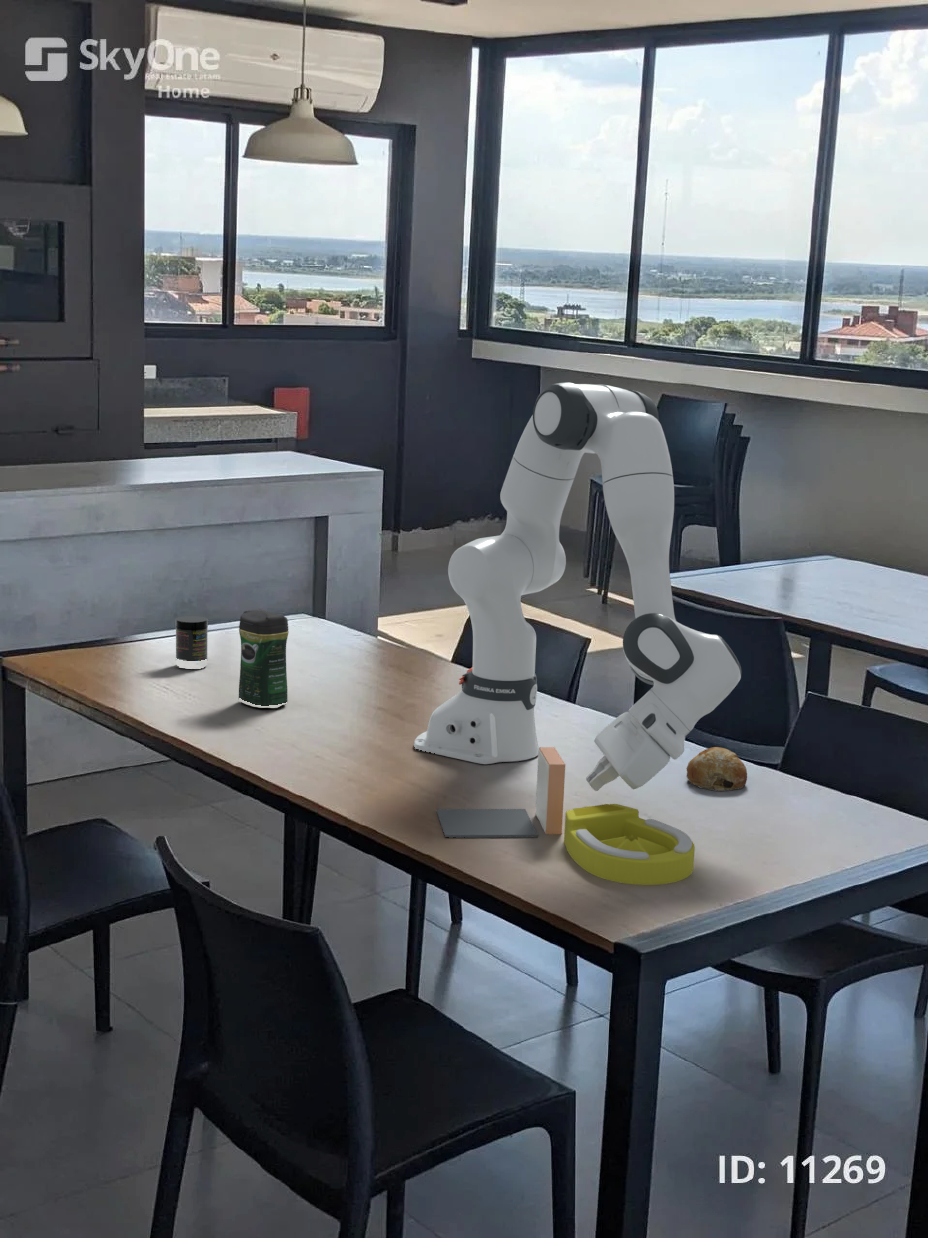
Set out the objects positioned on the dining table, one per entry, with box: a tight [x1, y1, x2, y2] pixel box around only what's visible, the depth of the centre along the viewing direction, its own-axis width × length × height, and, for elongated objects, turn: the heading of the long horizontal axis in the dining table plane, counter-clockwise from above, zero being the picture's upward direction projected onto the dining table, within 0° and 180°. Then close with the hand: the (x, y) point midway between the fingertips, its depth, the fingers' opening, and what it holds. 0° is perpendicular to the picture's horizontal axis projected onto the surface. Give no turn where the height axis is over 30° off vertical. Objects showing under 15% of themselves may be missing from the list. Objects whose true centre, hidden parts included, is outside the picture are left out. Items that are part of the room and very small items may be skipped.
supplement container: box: [175, 615, 209, 661], centre depth 325 cm, size 7×7×10 cm
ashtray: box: [563, 803, 696, 886], centre depth 221 cm, size 16×21×5 cm
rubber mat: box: [436, 808, 539, 839], centre depth 234 cm, size 14×12×1 cm
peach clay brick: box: [535, 746, 566, 835], centre depth 234 cm, size 3×9×11 cm, turn 7°
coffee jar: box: [238, 608, 289, 706], centre depth 296 cm, size 10×8×19 cm
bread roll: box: [685, 746, 748, 792], centre depth 259 cm, size 10×10×8 cm
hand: (590, 785), depth 234 cm, fingers closed
